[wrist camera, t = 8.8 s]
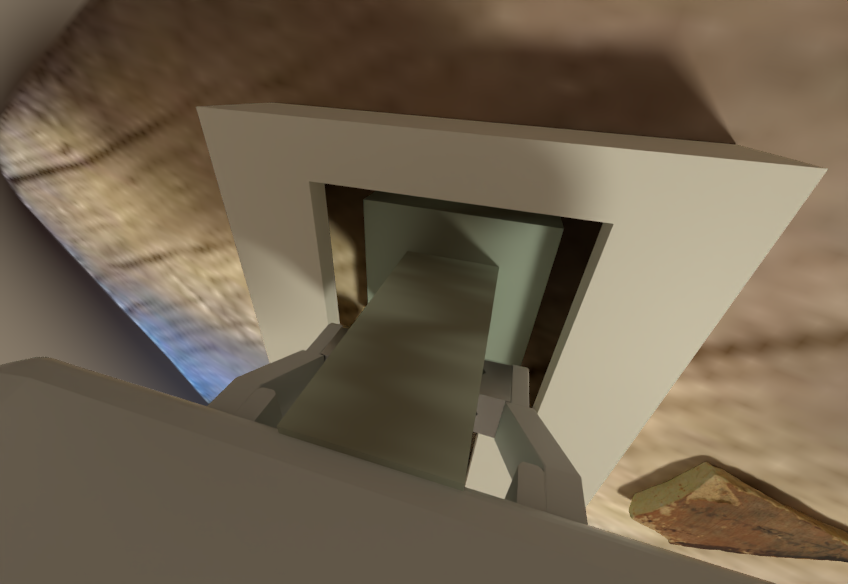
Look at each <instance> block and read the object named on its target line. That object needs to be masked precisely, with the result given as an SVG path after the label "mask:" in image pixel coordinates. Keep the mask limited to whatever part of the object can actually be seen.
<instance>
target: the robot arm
mask: <svg viewBox="0 0 848 584" xmlns="http://www.w3.org/2000/svg"><path fill="white" fill-rule="evenodd" d="M349 328H350V327H349V326H343V325H340V324H336V323H330V324H328V325H327V327H326V328H325V329H324V330H323V331H322V332H321V334H320V335H319V336H318V337H317V338H316V339H315V341H314V342H313V343H312V344H311V345H310V346H309V348H308V349H307V350H306V351H305V350H301V351H298V352H296V353H294V354H291V355H289V356H287V357H284V358H282V359H279V360H277V361H275V362H272V363H270V364H268V365H265V366H263V367H261V368H258V369H256V370H253V371H251V372H249V373H246V374H244V375H242V376H239V377H237V378H235V379H234V380H233V381H232V382H231V383H230V384H229V385H228V386H227V387H226V388H225V389H224V390H223V391H222V392H221V393H220V394H219V395H218V396H217V397H216V398H215V399H214V400H213V401H212V402H211V403H210V404H209V405H208V406H204V405H200V404H197V403H194V402H191V401H188V400H184V399H181V398H178V397H175V396H172V395H168V394H165V393H162V392H159V391H156V390H152V389H149V388H146V387H143V386H140V385H136V384H133V383H130V382H127V381H123V380H120V379H117V378H114V377H111V376H107V375H104V374H101V373H98V372H94V371H91V370H88V369H85V368H82V367H79V366H75V365H72V364H69V363H66V362H63V361H60V360H57V359H53V358H49V357H34V358H30V359H25V360H20V361H15V362H10V363H6V364H2V365H0V584H775V583H772V582H769V581H766V580H762V579H759V578H756V577H753V576H750V575H746V574H743V573H740V572H737V571H733V570H730V569H727V568H724V567H721V566H717V565H714V564H711V563H708V562H705V561H701V560H698V559H695V558H692V557H689V556H685V555H682V554H679V553H676V552H672V551H669V550H666V549H663V548H660V547H656V546H653V545H650V544H647V543H644V542H640V541H637V540H634V539H631V538H628V537H624V536H621V535H618V534H615V533H611V532H608V531H605V530H602V529H599V528H595V527H592V526H589V525H588V523H587V516H586V509H585V501H584V494H583V487H582V479H581V476H580V475H579V473H578V472H577V470H576V469H575V468H574V466H573V465H572V463H571V462H570V460H569V459H568V457H567V456H566V454H565V453H564V452H563V450H562V449H561V447H560V446H559V444H558V443H557V441H556V440H555V439H554V437H553V436H552V434H551V433H550V431H549V430H548V428H547V427H546V426H545V424H544V423H543V421H542V420H541V418H540V417H539V415H538V414H537V412H536V411H535V410H534V409H533V408H529V369H528V368H527V367H522V366H517V365H512V364H508V363H503V362H499V361H494V360H490V359H485V360H484V366H483V372H482V378H481V385H480V391H479V397H478V403H477V410H476V416H475V422H474V429H473V432H476V433H479V434H482V435H486V436H489V437H492V438H495V439H494V440H495V442H496V445H497V447H498V449H499V452H500V454H501V456H502V458H503V461H504V463H505V465H506V468H507V470H508V472H509V475H510V477H511V479H512V482H511V484H510V487H509V489H508V492H507V494H506V496H505V499H502V498H499V497H496V496H493V495H490V494H486V493H483V492H480V491H477V490H473V489H470V488H467V487H464V489H463V491H461V490H458V489H455V488H451V487H448V486H445V485H442V484H439V483H436V482H432V481H429V480H426V479H423V478H420V477H417V476H413V475H410V474H407V473H404V472H401V471H397V470H394V469H391V468H388V467H385V466H382V465H378V464H375V463H372V462H369V461H366V460H362V459H359V458H356V457H353V456H350V455H347V454H343V453H340V452H337V451H334V450H331V449H327V448H324V447H321V446H318V445H315V444H312V443H308V442H305V441H302V440H299V439H296V438H293V437H289V436H286V435H283V434H280V433H279V432H278V429H277V425H278V424H279V422H280V421H281V419H282V418H283V417H284V415H285V414H286V413H287V411H288V410H289V409H290V407H291V406H292V405H293V403H294V402H295V401H296V399H297V398H298V397H299V395H300V394H301V393H302V391H303V390H304V389H305V387H306V386H307V385H308V383H309V382H310V381H311V379H312V378H313V377H314V375H315V374H316V373H317V371H318V370H319V369H320V367H321V366H322V365H323V363H324V362H325V361H326V359H327V358H328V357H329V355H330V354H331V353H332V351H333V350H334V349H335V347H336V346H337V345H338V343H339V342H340V341H341V339H342V338H343V337H344V335H345V334H346V333H347V331H348V330H349Z"/></svg>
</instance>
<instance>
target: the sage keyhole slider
mask: <svg viewBox="0 0 848 584" xmlns="http://www.w3.org/2000/svg"><path fill="white" fill-rule="evenodd" d="M363 204H364V226H365V249H366V271H367V293H368V304H367V306H366V307H365V308H364V310H363V311H362V312H361V314H360V315H359V316H358V318H357V319H356V320H355V322H354V323H353V324H352V326H351V327H350V328H349V330H348V331H347V333H346V334H345V335H344V337H343V338H342V339H341V341H340V342H339V343H338V345H337V346H336V347H335V349H334V350H333V351H332V353H331V354H330V355H329V357H328V358H327V359H326V361H325V362H324V363H323V365H322V366H321V367H320V369H319V370H318V371H317V373H316V374H315V375H314V377H313V378H312V379H311V381H310V382H309V383H308V385H307V386H306V387H305V389H304V390H303V391H302V393H301V394H300V395H299V397H298V398H297V399H296V401H295V402H294V403H293V405H292V406H291V407H290V409H289V410H288V411H287V413H286V414H285V415H284V417H283V418H282V419H281V421H280V422H279V424H278V425H277V429H278V432H279V433H280V434H283V435H286V436H289V437H293V438H296V439H299V440H302V441H305V442H308V443H312V444H315V445H318V446H321V447H324V448H327V449H331V450H334V451H337V452H340V453H343V454H347V455H350V456H353V457H356V458H359V459H362V460H366V461H369V462H372V463H375V464H378V465H382V466H385V467H388V468H391V469H394V470H397V471H401V472H404V473H407V474H410V475H413V476H417V477H420V478H423V479H426V480H429V481H432V482H436V483H439V484H442V485H445V486H448V487H451V488H455V489H458V490H461V491H463V489H464V485H465V479H466V472H467V466H468V460H469V454H470V447H471V441H472V435H473V429H474V422H475V416H476V410H477V403H478V397H479V391H480V385H481V378H482V372H483V366H484V360H485V359H490V360H494V361H499V362H503V363H508V364H512V365H517V366H521V364H522V361H523V358H524V354H525V351H526V348H527V345H528V342H529V338H530V335H531V332H532V329H533V326H534V323H535V319H536V316H537V313H538V310H539V307H540V303H541V300H542V297H543V294H544V291H545V288H546V284H547V281H548V278H549V275H550V272H551V268H552V265H553V262H554V259H555V256H556V253H557V249H558V246H559V243H560V240H561V237H562V233H563V230H564V227H563V223H562V220H561V216H554V215H547V214H540V213H533V212H525V211H518V210H511V209H504V208H497V207H490V206H483V205H475V204H468V203H461V202H454V201H447V200H440V199H433V198H426V197H418V196H411V195H404V194H397V193H390V192H383V191H375V192H374V193H372V194H371V195H369V196H368V197H366V198H365V199H363Z"/></svg>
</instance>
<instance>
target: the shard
mask: <svg viewBox="0 0 848 584" xmlns="http://www.w3.org/2000/svg"><path fill="white" fill-rule="evenodd" d="M629 513H630V517H631V518H632V519H633V520H635V521H637V522H639V523H641V524H643V525H645V526H647V527H649V528H651V529H653V530H655V531H656V532H658V533H660V534H661V535H662V536H664V537H665V538H667V539H668V541H669V543H670V544H675V545H682V546H685V547H694V548H699V549H709V550H722V551H726V552H733V553H739V554H752V555H758V556H772V557H784V558H797V559H813V560H831V561H843V562H848V533H847V532H845V531H843V530H840V529H838V528H835V527H833V526H830V525H828V524H825V523H823V522H821V521H818V520H816V519H814V518H812V517H810V516H807V515H806V514H804V513H802V512H799V511H796V510H795V509H794V508H792V507H789V506H786V505H782V504H781V503H779V502H778V501H776V500H775V499H773V498H770V497H769V496H767V495H765V494H763V493H762V492H761V491H759V490H756V489H754V488H753V487H750V486H749V485H748V484H745V483H743V482H742V481H740V480H739V479H738V478H736V477H734V476H732V475H731V474H729V473H727V472H726V471H725V470H723V469H721V468H717V467H714V466H712V465H711V464H709V463H708V462H704V463H702V464H700V465H698V466H697V467H695V468H693V469H691V470H689V471H687V472H685V473H683V474H681V475H679V476H677V477H675V478H673V479H671V480H669V481H668V482H665V483H662V484H660V485H657V486H654V487H651V488H648V489H647V490H644V491H642V492H639V493H635V494H634V497H633V498H632V501H631V505H630V507H629Z"/></svg>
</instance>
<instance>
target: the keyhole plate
mask: <svg viewBox="0 0 848 584" xmlns="http://www.w3.org/2000/svg"><path fill="white" fill-rule="evenodd" d="M196 109H197V113H198V116H199V120H200V123H201V127H202V130H203V133H204V137H205V140H206V144H207V147H208V151H209V154H210V158H211V161H212V165H213V168H214V172H215V175H216V179H217V182H218V186H219V189H220V192H221V196H222V199H223V203H224V206H225V210H226V213H227V217H228V220H229V224H230V227H231V231H232V234H233V238H234V241H235V245H236V248H237V251H238V255H239V258H240V262H241V265H242V269H243V272H244V276H245V279H246V283H247V286H248V290H249V293H250V297H251V300H252V303H253V307H254V310H255V314H256V317H257V321H258V324H259V328H260V331H261V335H262V338H263V342H264V345H265V349H266V352H267V356H268V359H269V362H270V363H272V362H275V361H277V360H279V359H282V358H284V357H287V356H289V355H291V354H294V353H296V352H298V351H301V350H305V351H306V350H307V349H308V348H309V346H310V345H311V344H312V343H313V342H314V341H315V339H316V338H317V337H318V336H319V335H320V334H321V332H322V331H323V330H324V329H325V328H326V327H327V325H328V324H330V323H336V324H340V321H339V312H338V303H337V294H336V285H335V276H334V267H333V258H332V248H331V239H330V230H329V221H328V212H327V203H326V194H325V185H324V183H326V184H333V185H340V186H347V187H354V188H361V189H368V190H376V191H383V192H390V193H397V194H404V195H411V196H418V197H426V198H433V199H440V200H447V201H454V202H461V203H468V204H475V205H483V206H490V207H497V208H504V209H511V210H518V211H525V212H533V213H540V214H547V215H554V216H561V217H568V218H575V219H583V220H590V221H597V222H603V224H602V227H601V230H600V232H599V235H598V238H597V240H596V243H595V245H594V248H593V251H592V253H591V256H590V258H589V261H588V264H587V266H586V269H585V272H584V274H583V277H582V279H581V282H580V285H579V287H578V290H577V292H576V295H575V298H574V300H573V303H572V306H571V308H570V311H569V313H568V316H567V319H566V321H565V324H564V326H563V329H562V332H561V334H560V337H559V340H558V342H557V345H556V347H555V350H554V353H553V355H552V358H551V361H550V363H549V366H548V368H547V371H546V374H545V376H544V379H543V381H542V384H541V387H540V389H539V392H538V395H537V397H536V400H535V402H534V405H533V409H534V410H535V411H536V412H537V414H538V415H539V417H540V418H541V420H542V421H543V423H544V424H545V426H546V427H547V428H548V430H549V431H550V433H551V434H552V436H553V437H554V439H555V440H556V441H557V443H558V444H559V446H560V447H561V449H562V450H563V452H564V453H565V454H566V456H567V457H568V459H569V460H570V462H571V463H572V465H573V466H574V468H575V469H576V470H577V472H578V473H579V475H580V476H581V479H582V487H583V494H584V501H585V508H586V506H587V505H588V503H589V502H590V501H591V499H592V498H593V496H594V495H595V494H596V492H597V491H598V489H599V488H600V487H601V485H602V484H603V483H604V481H605V480H606V478H607V477H608V476H609V474H610V473H611V471H612V470H613V469H614V467H615V466H616V464H617V463H618V462H619V460H620V459H621V457H622V456H623V455H624V453H625V452H626V450H627V449H628V448H629V446H630V445H631V443H632V442H633V441H634V439H635V438H636V436H637V435H638V434H639V432H640V431H641V429H642V428H643V427H644V425H645V424H646V422H647V421H648V420H649V418H650V417H651V416H652V414H653V413H654V411H655V410H656V409H657V407H658V406H659V404H660V403H661V402H662V400H663V399H664V397H665V396H666V395H667V393H668V392H669V390H670V389H671V388H672V386H673V385H674V383H675V382H676V381H677V379H678V378H679V376H680V375H681V374H682V372H683V371H684V369H685V368H686V367H687V365H688V364H689V362H690V361H691V360H692V358H693V357H694V355H695V354H696V353H697V351H698V350H699V349H700V347H701V346H702V344H703V343H704V342H705V340H706V339H707V337H708V336H709V335H710V333H711V332H712V330H713V329H714V328H715V326H716V325H717V323H718V322H719V321H720V319H721V318H722V316H723V315H724V314H725V312H726V311H727V309H728V308H729V307H730V305H731V304H732V302H733V301H734V300H735V298H736V297H737V295H738V294H739V293H740V291H741V290H742V288H743V287H744V286H745V284H746V283H747V282H748V280H749V279H750V277H751V276H752V275H753V273H754V272H755V270H756V269H757V268H758V266H759V265H760V263H761V262H762V261H763V259H764V258H765V256H766V255H767V254H768V252H769V251H770V249H771V248H772V247H773V245H774V244H775V242H776V241H777V240H778V238H779V237H780V235H781V234H782V233H783V231H784V230H785V228H786V227H787V226H788V224H789V223H790V221H791V220H792V219H793V217H794V216H795V215H796V213H797V212H798V210H799V209H800V208H801V206H802V205H803V203H804V202H805V201H806V199H807V198H808V196H809V195H810V194H811V192H812V191H813V189H814V188H815V187H816V185H817V184H818V182H819V181H820V180H821V178H822V177H823V175H824V174H825V173H826V171H827V170H828V169H827V168H823V167H819V166H816V165H812V164H808V163H804V162H801V161H797V160H793V159H789V158H786V157H782V156H778V155H774V154H771V153H767V152H763V151H759V150H756V149H752V148H748V147H744V146H741V145H735V144H724V143H713V142H702V141H691V140H680V139H669V138H658V137H647V136H636V135H625V134H614V133H603V132H592V131H581V130H570V129H559V128H548V127H537V126H526V125H515V124H504V123H493V122H482V121H471V120H460V119H449V118H438V117H427V116H416V115H405V114H394V113H383V112H372V111H361V110H350V109H339V108H328V107H317V106H306V105H295V104H284V103H273V102H270V103H251V104H233V105H214V106H196ZM494 439H495V438H492V437H489V436H486V435H482V434H479V433H477V435H476V439H475V443H474V447H473V451H472V455H471V459H470V463H469V467H468V471H467V475H466V479H465V485H464V487H467V488H470V489H473V490H477V491H480V492H483V493H486V494H490V495H493V496H496V497H499V498H502V499H505V496H506V494H507V492H508V489H509V487H510V484H511V482H512V479H511V477H510V475H509V472H508V470H507V468H506V465H505V463H504V461H503V458H502V456H501V454H500V452H499V449H498V447H497V445H496V442H495V440H494Z"/></svg>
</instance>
